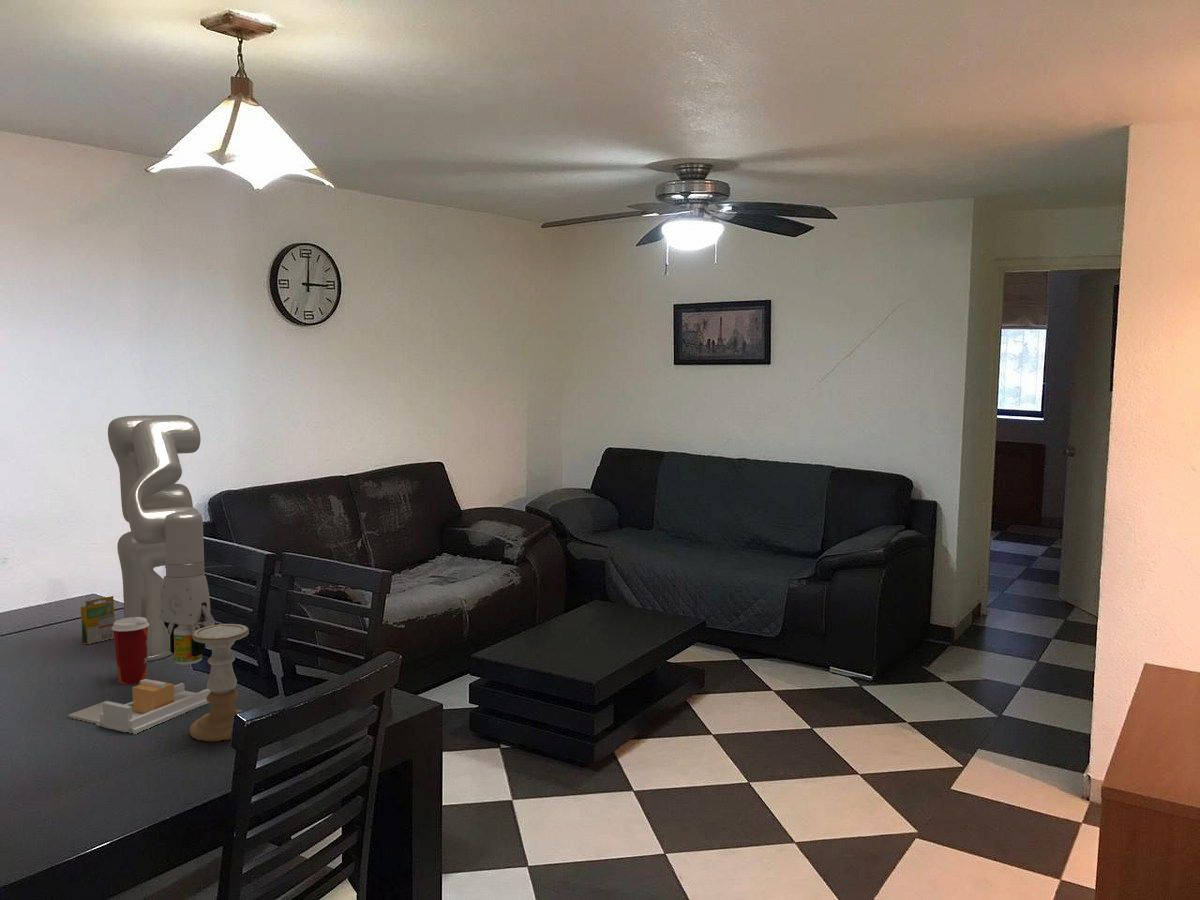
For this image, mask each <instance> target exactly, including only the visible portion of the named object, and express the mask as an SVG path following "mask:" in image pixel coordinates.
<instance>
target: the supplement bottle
mask: <svg viewBox="0 0 1200 900" xmlns="http://www.w3.org/2000/svg"><path fill="white" fill-rule="evenodd" d="M177 625H178V627H176V628H175V630H174V653H173V654H174V663H175V664H177V665H183V666H185V665H192V664H193V665H194V664H197V663H199V662H201V661H202V659H203V654H201V655H198V656H195V657H194V656H192V648H191V638H192V629H191V626H187V625H179V624H177ZM197 628H198V629H199V628H200V626H199V625H197Z"/></svg>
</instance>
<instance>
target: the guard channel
mask: <svg viewBox="0 0 1200 900" xmlns="http://www.w3.org/2000/svg"><path fill="white" fill-rule="evenodd" d="M185 688H186V687H185V683H183V682H180V683H178V684H174V702H173V703H170V704H168V705H165V706H163V707H160V708H158V709H155V710H153V711H150V712H147V713H141V712H136V711H133V700H132V701H130V702H127V703H125V704H124V703H121V704H117V703H118V702H116V703H113V702H114V701H111V702H108V701H109V700H106V701H107V702H104V701H103V702H104V703H103V713H101V714H100V720H97V721H96V724H95V725H96V726H97V727H100V726H101V728H105V729H111V730H113V729H114V731H119V732H123V733H126V732H129V733H128V734H131V733H133V734H132V735H135V734H136V735H138V734H137V733H139V732H141V731H143V730H146V729H148V730H150V729H149V728H151V727H153V726H155V725H157V724H160V723H162V722H165V721H167V720H169V719H171V718H173V717H176V716H178V715H180V714H183V713H185V712H187V711H189V710H192V709H194V708H196V707H199V706H201V705H204V704H207V703H209V702H208V701H207V700H206V698H207V696H208V695H209V693H210V692H211V691H210V690H209V689H208V688H206V689H203V690H200V691H198V692H195V691H188V690H185ZM122 704H124V705H122ZM167 722H168V721H167ZM165 723H166V722H165ZM160 725H161V724H160ZM155 727H156V726H155ZM153 728H154V727H153ZM151 729H152V728H151ZM146 731H147V730H146ZM141 733H142V732H141ZM139 734H140V733H139Z"/></svg>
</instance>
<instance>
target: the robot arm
mask: <svg viewBox="0 0 1200 900" xmlns="http://www.w3.org/2000/svg"><path fill="white" fill-rule="evenodd" d="M107 438H108V444H109V448H110V450H111V453H112V454H113V456H114V457H113V458H114V460H115V462H116V464H117V467H118V473H119V484H120V485H119V487H120V500H121V512H122V516H123V519H124V521H126V522H127V523H128V524H129V528H130V531H128V532H126V533H123V534H122V535H121V536H120V537H119V538H118V542H117V548H116V549H117V554H118V559H119V564H120V569H121V578H122V593H123V595H122V597H123V619H124V618H131V617H143V618H146V619H147V621H148V623H149V626H148V639H147V662H149V661H150V662H151V661H156V660H160V659H161V660H162V659H163V658H166V657H170V656H171V655H173V654H174V630H175V628H176V627H178V625H177V624H179V625H187V626H191V629H192V633H193V632H194V631H196V630H198V628H197V625H198V626H200V628H203V627H207V626H212V625H216V620H215V618H214V616H213V615H212V613H211V600H210V599H211V598H210V590H209V585H208V580H207V576H206V575H205V574H206V573H205V549H204V548H205V547H204V543H205V542H204V520H203V516H202V513H200V512H199V511H198V509H197V508H195V507H194V506H193V505H194V503H193V499H192V498H193V497H192V494H191V491H190V489H189V488H188V486H186V485H184V484H182V483H177V482H178V481H179V480H180V479H181V477H182V475H183V470H182V469H183V467H182V465H181V462H180V459H179V455H180V454H194V453H196V452H197V451H198V450H199V449H200V446H201V433H200V429H199V427H198V425H197V423H196V421H194V420H193V419H192V418H190V417H188V416H184V415H180V414H179V415H178V414H160V415H155V414H153V415H148V414H147V415H143V414H142V415H141V414H140V415H128V416H127V415H125V416H119V417H116V418H114V419H112V420H111V421H110V422H109V424H108V427H107ZM163 566H164V568H165V575H164V576H163V577H162V576H161V575H160V574H159V573H157V572H156V571H155V569H154V568H157V567H159V568H160V567H163ZM200 628H199V629H200ZM191 648H192V656H194V657H195V656H198V655H201V654H202V655H205V653H206V651H207V650H206V649H207V648H206V643H200V642H196V641H194V640H193V639H192V638H191Z"/></svg>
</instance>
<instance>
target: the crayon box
mask: <svg viewBox="0 0 1200 900" xmlns="http://www.w3.org/2000/svg"><path fill="white" fill-rule="evenodd" d="M99 601H105V602H100V603H96V602H99ZM80 616H81V640H82V642H83V643H86V644H90V643H94V644H96V643H95V642H98V641H103V640H107V641H109V640H108V639H111V640H114V639H113V638H114V632H113V630H112V627H113V624H114V622H115V621H116V620H115V603H114V595H111V596H107V597H101V598H95V599H91V600H86V601H85V606H84V605H83V606H80ZM103 642H104V641H103ZM83 643H82V644H83ZM98 643H99V642H98ZM86 644H85V645H86ZM90 645H91V644H90Z"/></svg>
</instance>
